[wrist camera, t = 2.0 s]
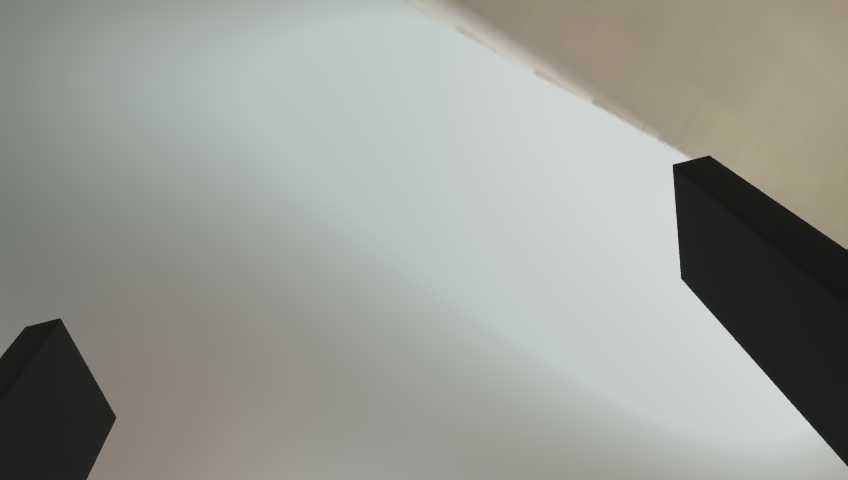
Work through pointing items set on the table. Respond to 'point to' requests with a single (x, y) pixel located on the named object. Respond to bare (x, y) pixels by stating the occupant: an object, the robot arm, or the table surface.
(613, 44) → the table surface
